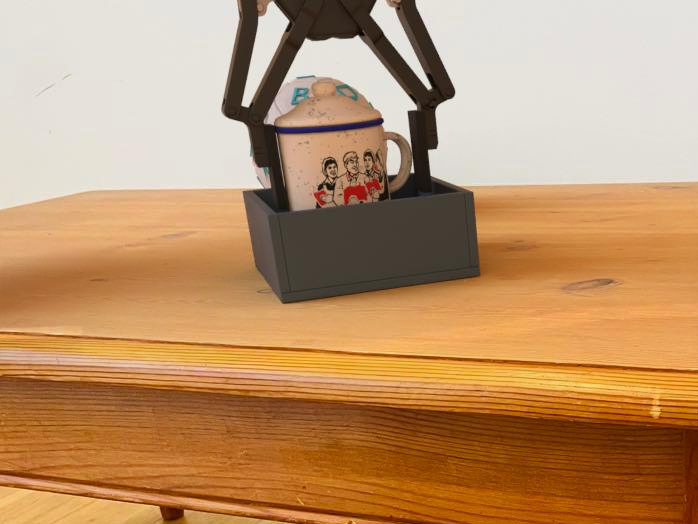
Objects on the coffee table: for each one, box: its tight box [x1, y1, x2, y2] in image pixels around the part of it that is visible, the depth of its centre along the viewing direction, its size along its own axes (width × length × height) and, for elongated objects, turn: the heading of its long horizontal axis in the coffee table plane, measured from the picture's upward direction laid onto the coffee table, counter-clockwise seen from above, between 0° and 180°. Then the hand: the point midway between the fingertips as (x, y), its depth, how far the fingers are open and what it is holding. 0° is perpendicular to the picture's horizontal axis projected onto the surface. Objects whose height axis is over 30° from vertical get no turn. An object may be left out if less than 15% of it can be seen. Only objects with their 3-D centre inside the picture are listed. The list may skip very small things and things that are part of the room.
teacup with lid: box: [274, 82, 413, 212], centre depth 91 cm, size 12×9×12 cm
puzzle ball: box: [249, 74, 389, 189], centre depth 120 cm, size 15×15×15 cm
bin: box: [242, 172, 481, 304], centre depth 93 cm, size 17×17×7 cm
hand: (353, 199), depth 92 cm, fingers closed on teacup with lid, 12 cm apart
